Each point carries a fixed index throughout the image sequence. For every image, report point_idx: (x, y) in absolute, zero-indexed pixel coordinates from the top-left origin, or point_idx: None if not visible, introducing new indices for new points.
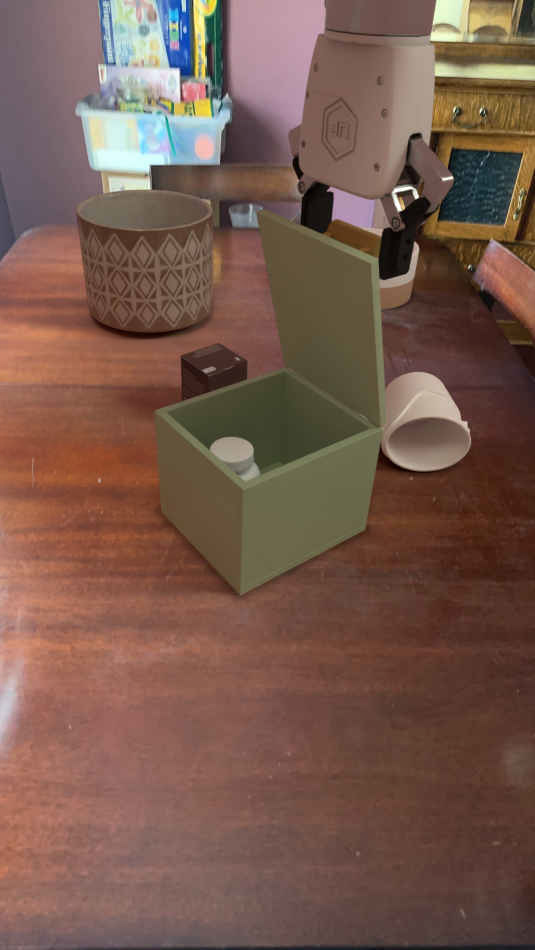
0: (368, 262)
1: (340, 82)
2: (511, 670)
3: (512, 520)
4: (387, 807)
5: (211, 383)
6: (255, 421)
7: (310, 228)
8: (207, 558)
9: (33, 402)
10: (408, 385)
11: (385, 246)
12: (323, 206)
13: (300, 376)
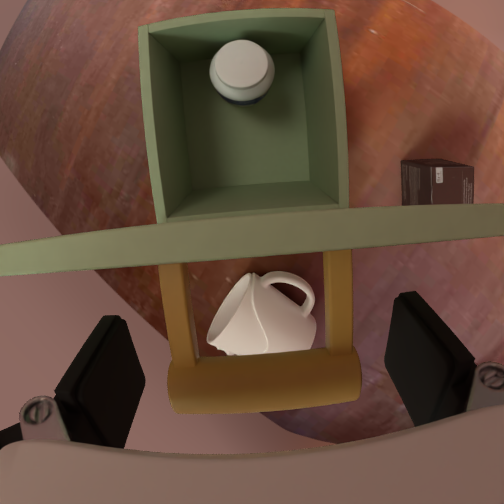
0: None
1: None
2: (44, 202)
3: (147, 309)
4: (20, 85)
5: (425, 169)
6: (322, 150)
7: (408, 327)
8: None
9: (491, 60)
10: (287, 342)
11: (74, 362)
12: (420, 394)
13: None
